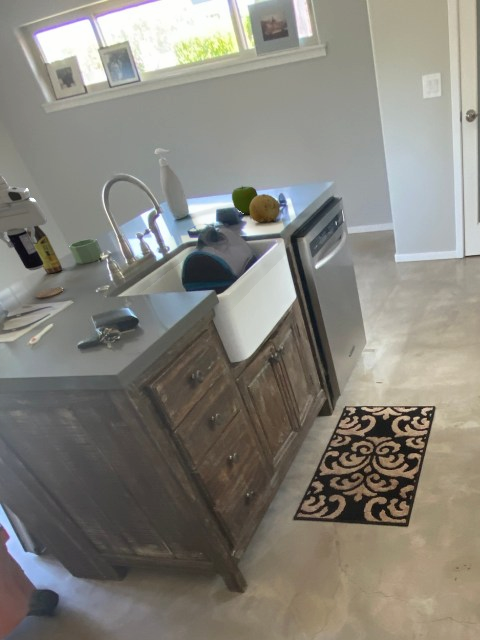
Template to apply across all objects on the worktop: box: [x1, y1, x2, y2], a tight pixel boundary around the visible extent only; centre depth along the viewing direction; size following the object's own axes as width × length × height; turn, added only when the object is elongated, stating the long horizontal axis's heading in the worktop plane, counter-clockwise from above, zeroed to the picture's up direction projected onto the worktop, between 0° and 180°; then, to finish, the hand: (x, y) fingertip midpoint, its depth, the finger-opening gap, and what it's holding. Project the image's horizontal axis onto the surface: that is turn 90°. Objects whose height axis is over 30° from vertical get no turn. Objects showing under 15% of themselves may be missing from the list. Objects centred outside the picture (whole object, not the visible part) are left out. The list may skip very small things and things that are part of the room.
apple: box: [231, 185, 259, 216], centre depth 228 cm, size 11×11×11 cm
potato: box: [249, 193, 281, 223], centre depth 212 cm, size 10×12×10 cm
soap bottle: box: [154, 147, 190, 220], centre depth 234 cm, size 14×8×27 cm, turn 169°
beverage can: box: [6, 228, 43, 271], centre depth 168 cm, size 6×6×12 cm
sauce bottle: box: [26, 225, 63, 275], centre depth 191 cm, size 6×6×20 cm
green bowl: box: [68, 238, 103, 265], centre depth 203 cm, size 10×10×6 cm
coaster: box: [35, 286, 65, 299], centre depth 177 cm, size 9×9×1 cm
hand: (23, 245), depth 167 cm, fingers closed on beverage can, 5 cm apart
